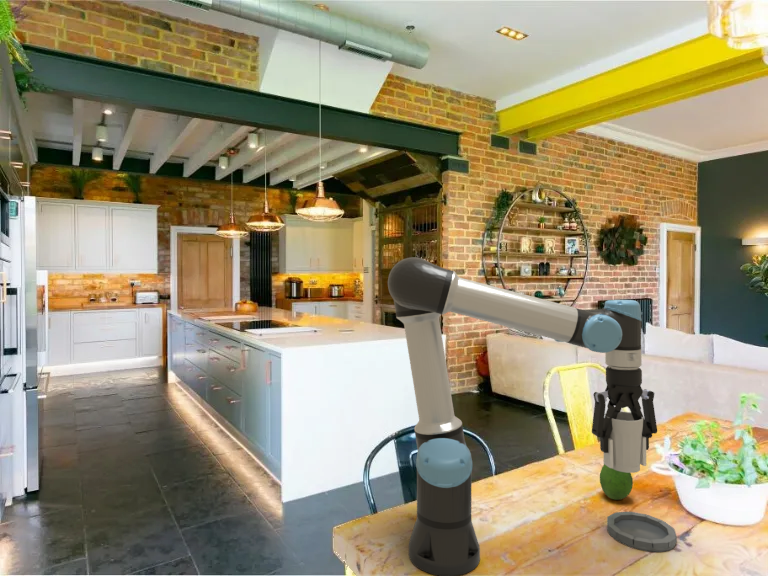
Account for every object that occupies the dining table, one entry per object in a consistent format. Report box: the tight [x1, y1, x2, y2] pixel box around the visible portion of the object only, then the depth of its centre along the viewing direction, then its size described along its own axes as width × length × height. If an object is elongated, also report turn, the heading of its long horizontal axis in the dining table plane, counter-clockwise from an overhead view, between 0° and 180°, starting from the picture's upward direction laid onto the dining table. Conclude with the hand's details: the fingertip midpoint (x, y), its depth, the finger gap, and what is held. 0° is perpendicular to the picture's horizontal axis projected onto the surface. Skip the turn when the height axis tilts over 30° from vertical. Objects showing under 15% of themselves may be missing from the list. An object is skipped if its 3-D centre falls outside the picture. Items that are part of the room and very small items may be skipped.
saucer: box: [606, 511, 678, 553], centre depth 113 cm, size 14×14×2 cm
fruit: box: [599, 463, 634, 501], centre depth 131 cm, size 8×8×12 cm
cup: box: [604, 410, 644, 474], centre depth 113 cm, size 8×8×12 cm
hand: (624, 464), depth 113 cm, fingers closed on cup, 7 cm apart
